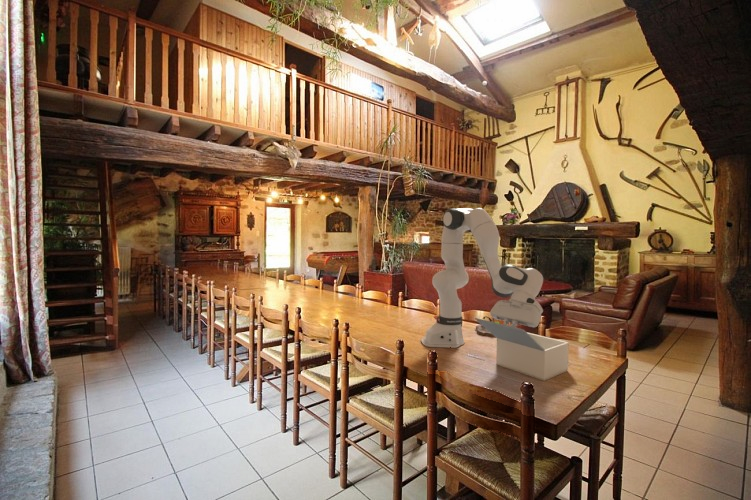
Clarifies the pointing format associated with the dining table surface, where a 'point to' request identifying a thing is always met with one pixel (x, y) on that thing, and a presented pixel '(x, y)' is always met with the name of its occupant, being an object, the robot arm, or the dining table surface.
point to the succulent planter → (484, 329)
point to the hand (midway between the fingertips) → (506, 330)
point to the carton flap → (510, 334)
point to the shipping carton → (534, 357)
